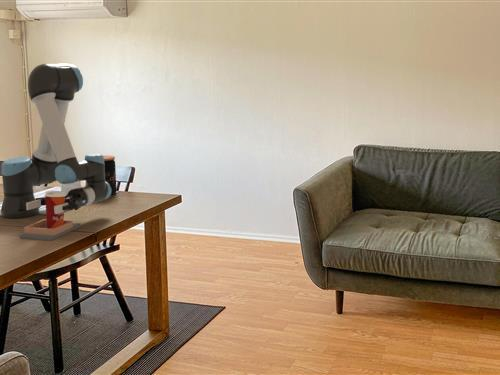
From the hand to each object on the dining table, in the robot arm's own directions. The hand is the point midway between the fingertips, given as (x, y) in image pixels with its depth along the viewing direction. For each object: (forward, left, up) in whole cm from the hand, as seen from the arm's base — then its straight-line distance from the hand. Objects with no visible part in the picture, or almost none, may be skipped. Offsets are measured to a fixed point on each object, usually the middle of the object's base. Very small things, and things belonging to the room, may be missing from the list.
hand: (40, 208), depth 224 cm
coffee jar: (-13, +71, -10) cm, 73 cm away
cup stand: (+1, +5, -10) cm, 11 cm away
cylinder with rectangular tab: (-24, +59, -10) cm, 64 cm away
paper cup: (+3, +4, -9) cm, 10 cm away
